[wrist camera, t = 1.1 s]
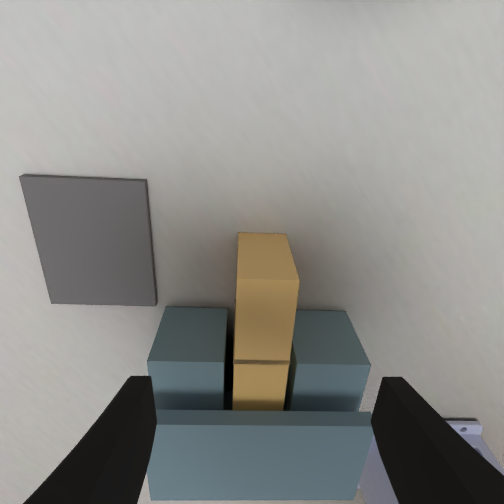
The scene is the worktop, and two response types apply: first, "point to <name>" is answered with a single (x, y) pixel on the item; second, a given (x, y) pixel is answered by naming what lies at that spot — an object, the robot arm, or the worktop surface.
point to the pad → (93, 239)
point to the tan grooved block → (263, 321)
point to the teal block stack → (257, 414)
